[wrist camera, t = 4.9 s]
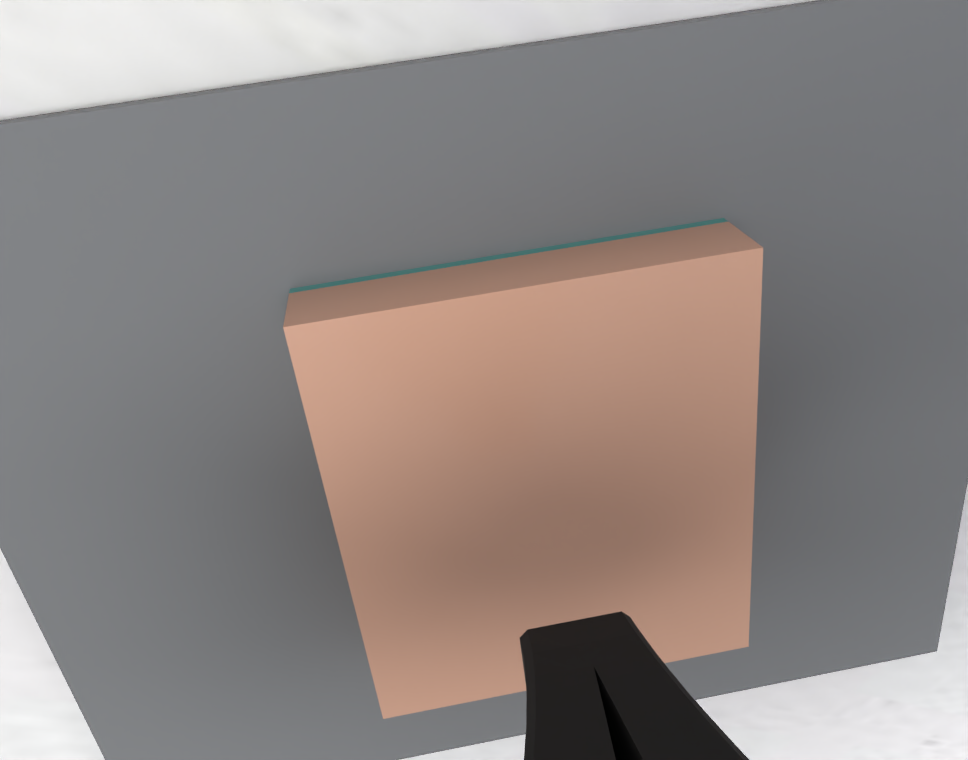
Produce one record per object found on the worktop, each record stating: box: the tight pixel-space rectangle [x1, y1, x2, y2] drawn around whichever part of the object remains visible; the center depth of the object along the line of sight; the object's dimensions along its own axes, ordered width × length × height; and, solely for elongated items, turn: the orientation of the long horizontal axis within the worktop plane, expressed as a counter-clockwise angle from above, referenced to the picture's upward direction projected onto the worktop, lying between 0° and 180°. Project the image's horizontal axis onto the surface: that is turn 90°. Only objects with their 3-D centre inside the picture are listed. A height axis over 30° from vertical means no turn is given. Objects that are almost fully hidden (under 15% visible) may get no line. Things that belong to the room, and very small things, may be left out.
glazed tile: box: [283, 218, 763, 719], centre depth 15 cm, size 2×8×7 cm
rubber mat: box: [0, 0, 968, 760], centre depth 16 cm, size 18×14×1 cm
